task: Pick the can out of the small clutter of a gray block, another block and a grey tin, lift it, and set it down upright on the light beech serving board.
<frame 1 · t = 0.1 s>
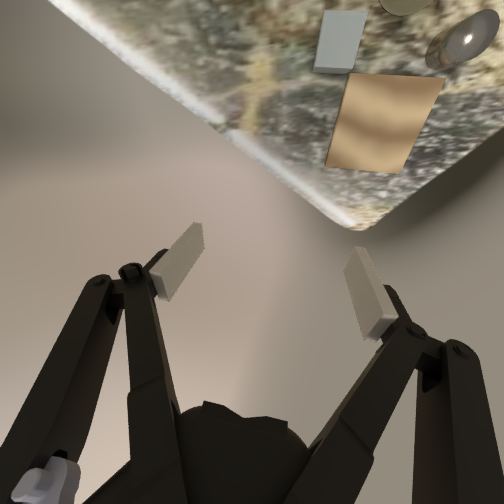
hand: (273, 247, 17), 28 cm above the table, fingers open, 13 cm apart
block gray: (333, 50, 29), on the table
tin: (443, 49, 27), on the table
board: (374, 127, 33), on the table
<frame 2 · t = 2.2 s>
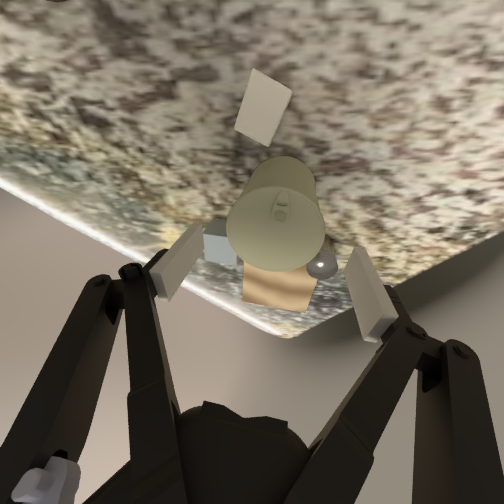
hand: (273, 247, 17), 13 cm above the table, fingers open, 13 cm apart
can: (280, 191, 27), on the table
block white: (266, 110, 22), on the table
block gray: (229, 232, 33), on the table
tin: (317, 243, 31), on the table
board: (278, 280, 37), on the table
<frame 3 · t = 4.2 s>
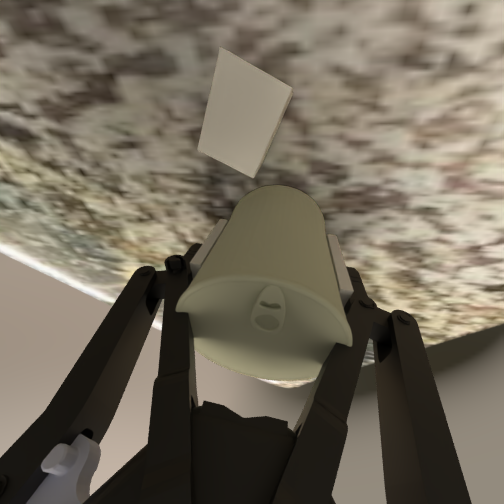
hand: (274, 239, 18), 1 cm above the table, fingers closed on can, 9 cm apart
can: (275, 230, 19), on the table, touching gripper
block white: (251, 119, 14), on the table
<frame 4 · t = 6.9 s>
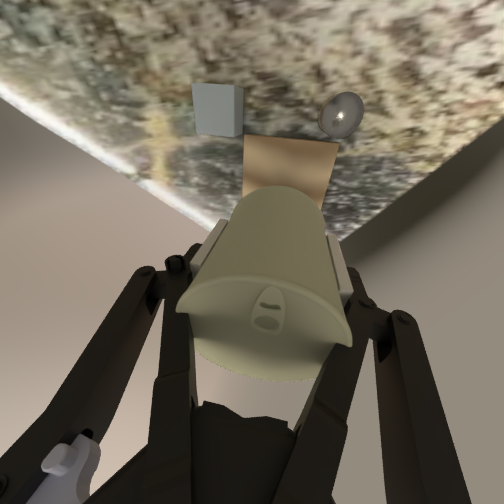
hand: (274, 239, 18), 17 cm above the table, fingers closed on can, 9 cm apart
can: (275, 231, 19), point 15 cm above the table, touching gripper
block gray: (225, 111, 27), on the table
tin: (333, 115, 25), on the table
board: (283, 184, 31), on the table
when the fingers open (4 cm above the table, at t = 9.9 s): can drops 2 cm, resting on board.
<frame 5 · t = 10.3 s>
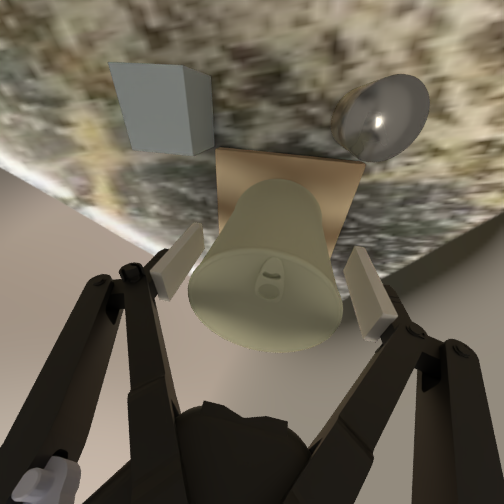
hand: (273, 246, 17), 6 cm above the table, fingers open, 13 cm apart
can: (276, 222, 21), point 1 cm above the table, touching board
block gray: (186, 112, 17), on the table
tin: (357, 118, 16), on the table
board: (278, 218, 22), on the table
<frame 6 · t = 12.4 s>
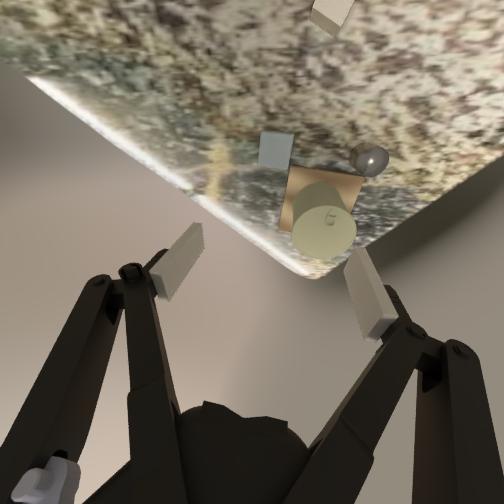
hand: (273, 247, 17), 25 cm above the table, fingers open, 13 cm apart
can: (316, 205, 38), point 1 cm above the table, touching board
block white: (335, 2, 25), on the table
block gray: (277, 147, 35), on the table
tin: (361, 156, 33), on the table
board: (316, 204, 39), on the table
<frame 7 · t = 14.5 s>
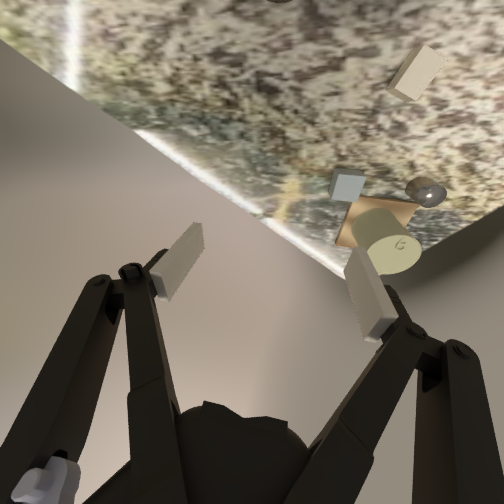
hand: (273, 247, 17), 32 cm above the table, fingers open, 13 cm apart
can: (372, 226, 46), point 1 cm above the table, touching board
block white: (407, 77, 32), on the table
block gray: (343, 181, 42), on the table
tin: (416, 187, 40), on the table
board: (371, 224, 46), on the table
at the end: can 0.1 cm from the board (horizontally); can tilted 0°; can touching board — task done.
